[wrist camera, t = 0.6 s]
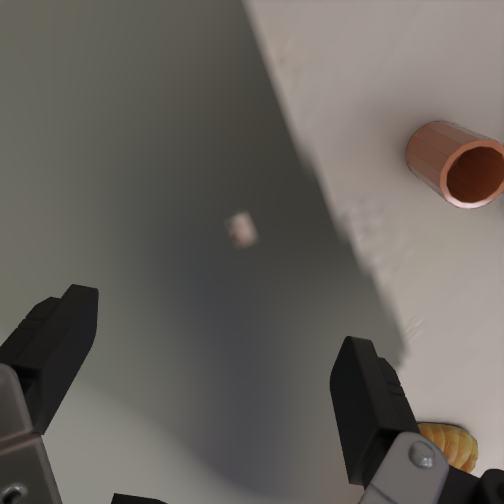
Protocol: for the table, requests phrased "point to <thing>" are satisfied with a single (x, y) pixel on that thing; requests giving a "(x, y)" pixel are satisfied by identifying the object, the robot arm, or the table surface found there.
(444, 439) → the pastry
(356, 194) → the table surface
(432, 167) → the cup
